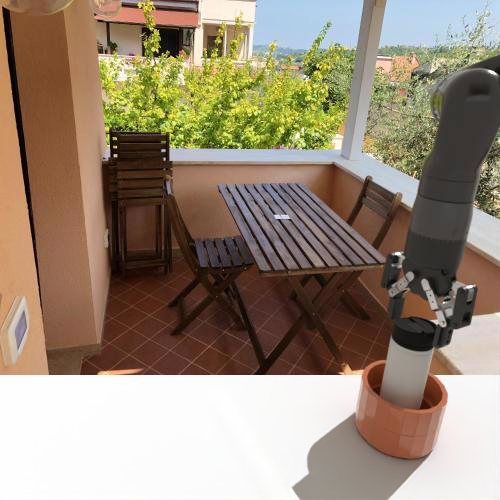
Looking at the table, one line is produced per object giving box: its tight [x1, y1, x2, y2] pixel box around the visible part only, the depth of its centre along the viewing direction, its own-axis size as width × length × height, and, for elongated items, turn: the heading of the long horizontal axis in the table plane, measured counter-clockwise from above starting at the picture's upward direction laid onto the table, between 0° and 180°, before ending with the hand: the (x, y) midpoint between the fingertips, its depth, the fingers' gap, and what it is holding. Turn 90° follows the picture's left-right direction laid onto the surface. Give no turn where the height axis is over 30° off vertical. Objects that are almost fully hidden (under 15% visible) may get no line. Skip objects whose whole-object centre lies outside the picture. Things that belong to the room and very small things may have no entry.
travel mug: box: [379, 315, 437, 410], centre depth 67 cm, size 6×7×20 cm
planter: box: [354, 359, 449, 460], centre depth 69 cm, size 13×13×9 cm
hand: (415, 331), depth 64 cm, fingers open, 8 cm apart
